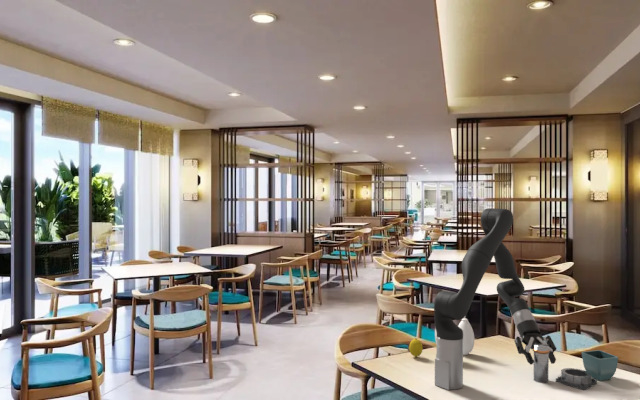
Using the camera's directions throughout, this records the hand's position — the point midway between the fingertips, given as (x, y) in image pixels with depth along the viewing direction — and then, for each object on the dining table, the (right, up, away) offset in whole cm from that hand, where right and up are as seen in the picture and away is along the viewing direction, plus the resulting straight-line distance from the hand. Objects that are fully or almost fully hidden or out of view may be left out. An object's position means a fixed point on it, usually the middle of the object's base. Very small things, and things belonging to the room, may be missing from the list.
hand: (543, 363), depth 179 cm
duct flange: (+12, -7, -1) cm, 14 cm away
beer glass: (-30, -7, +25) cm, 40 cm away
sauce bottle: (-20, -7, +31) cm, 37 cm away
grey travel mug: (0, -7, +1) cm, 7 cm away
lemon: (-41, -7, +27) cm, 50 cm away
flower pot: (+23, -7, +4) cm, 25 cm away
